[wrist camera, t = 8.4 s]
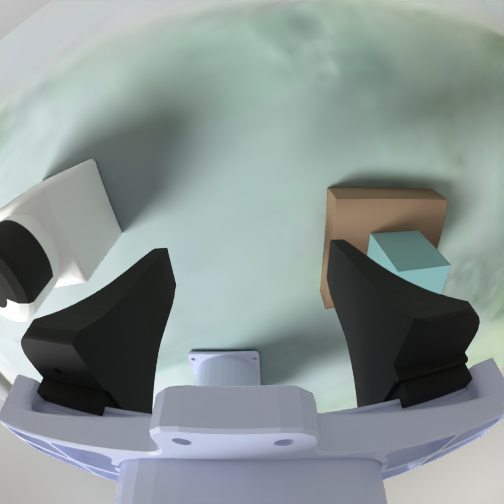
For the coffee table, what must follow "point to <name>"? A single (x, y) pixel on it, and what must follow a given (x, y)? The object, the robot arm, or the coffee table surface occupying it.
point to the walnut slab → (378, 218)
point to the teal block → (410, 258)
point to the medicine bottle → (53, 238)
